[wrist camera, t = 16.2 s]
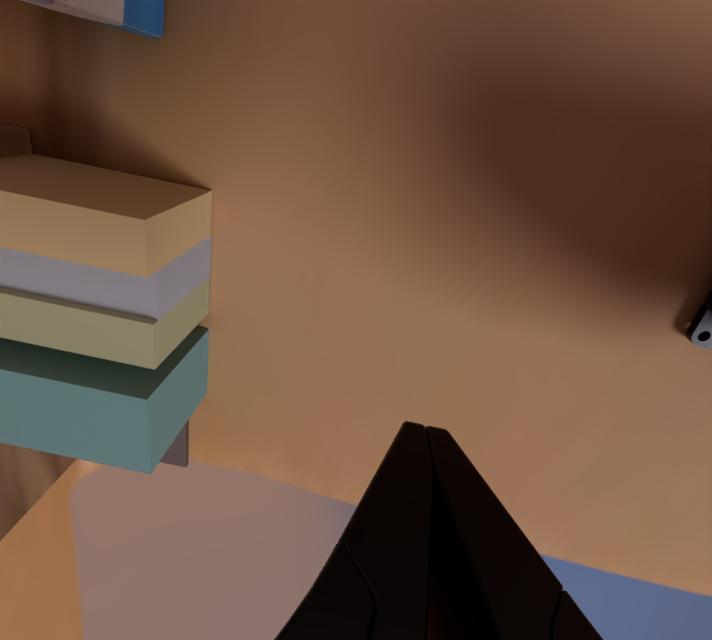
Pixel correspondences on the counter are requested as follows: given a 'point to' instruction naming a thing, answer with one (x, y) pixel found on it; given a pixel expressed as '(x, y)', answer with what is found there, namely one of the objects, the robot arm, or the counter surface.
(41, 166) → the row of shelved books
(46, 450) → the grey teal rectangular block
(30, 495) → the walnut back wall
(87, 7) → the ink box
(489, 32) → the counter surface
